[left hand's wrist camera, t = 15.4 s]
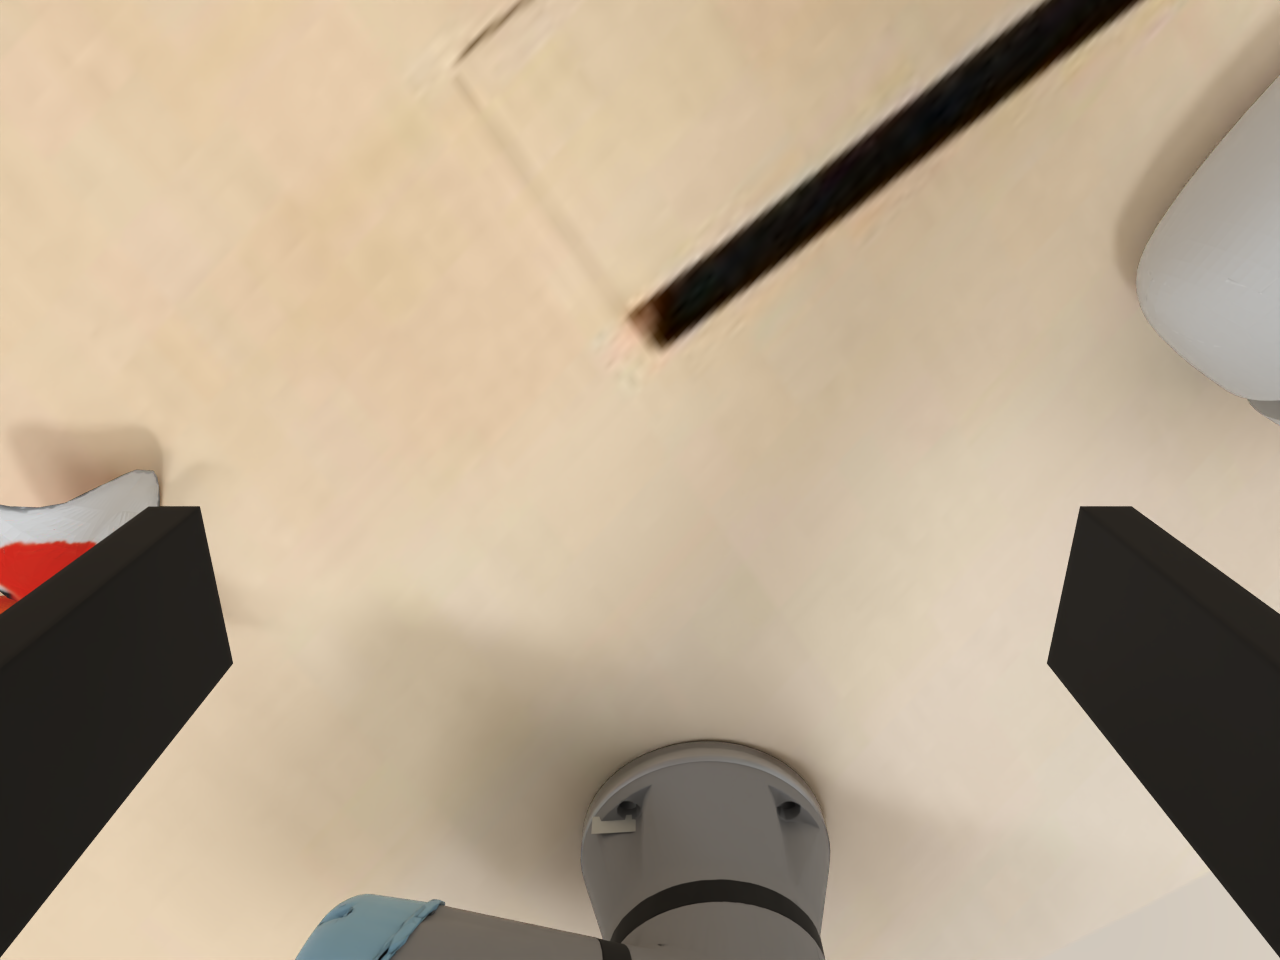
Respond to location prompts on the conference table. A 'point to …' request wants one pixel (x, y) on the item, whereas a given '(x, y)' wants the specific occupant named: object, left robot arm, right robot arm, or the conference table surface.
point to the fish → (65, 531)
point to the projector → (1224, 262)
